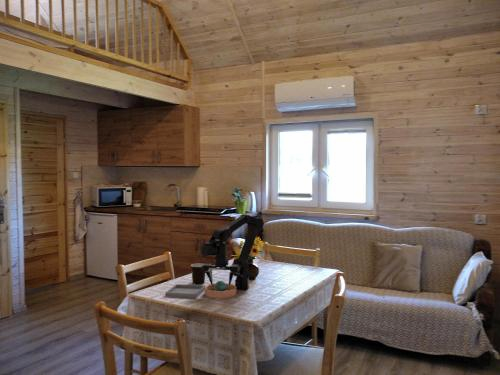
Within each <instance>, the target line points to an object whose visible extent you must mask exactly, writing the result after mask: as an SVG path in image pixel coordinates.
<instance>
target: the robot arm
mask: <svg viewBox="0 0 500 375" xmlns="http://www.w3.org/2000/svg"><path fill="white" fill-rule="evenodd" d="M244 225H246V226H247V233H246V236H245V240H244V242H243V244H242V248H241V251H240V252H239V256H238V257H237V258H234V259H233V261H232V264H231V265H229V259H230V258H228V256H227V246H229V245H230V242H229V241H228V240H229V239H230V238H231V236H232V234H233V233H234V232H236V231H237V230H239V229H240V228H241V227H243V226H244ZM264 225H265V222H264V219H263V218H262V217H255V216H253V215H250V214H246V213H242V214H240V216H238V217H237V218H236V219H234V220H233V221H231V222H230V223H228V224H227V225H224V226H220V227H218V228H216V229H214V230H213V233H212V235H211V237H209V238H210V239H209V241H208V242H203V245H202V246H201V249H200V253H201V255H202V257H204V258H207V257H213V256H214V265H212V263H203V264H204V265H203V266H202V268H201V271H204V273H205V275H206V276H207V277H208V280H209V282H210V284H211V285H212V284H214V283H213V282H214V281H213V270H219V271H220V270H221V271H230V272H229V274H228V275H229V276H228V284H229V285H230V284H232V280H233V277H236V278H235V279H234V285H235V286H236V287H237V291H238V290H239V291H248V290H249V289H250V282H249V281H250V280H249V279H251V278H252V274H253V273H252V272H251V270H249V267H250V264H249V258H250V255H251V252H252V250H253V246H254V243H255V241H256V238H257V236H258V234H259V233H260V232H261V231H262V229H263V227H264Z"/></svg>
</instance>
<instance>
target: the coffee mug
mask: <svg viewBox="0 0 500 375" xmlns="http://www.w3.org/2000/svg"><path fill="white" fill-rule="evenodd" d="M204 264H205V263H200V262H199V263H192V264H191V265H190V270H191V280H192V285H204V284H205V281H206V280H205V279H206V273H204V271H201V268H202V266H203V265H204Z"/></svg>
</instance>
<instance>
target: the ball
mask: <svg viewBox="0 0 500 375" xmlns="http://www.w3.org/2000/svg"><path fill="white" fill-rule="evenodd" d="M226 283H227V282H225V281H223V280H218V281H216V283H214V284H215V290H216V291H225V290H226V287H227V286H226Z"/></svg>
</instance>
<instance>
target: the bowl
mask: <svg viewBox="0 0 500 375" xmlns="http://www.w3.org/2000/svg"><path fill="white" fill-rule="evenodd" d="M225 283H226V286H227V287H226V290H225V291H216V290H215V284H216V283H213V284H212V285H211V283H210V284H208V285H205V290H204V296H206V297H208V298H211V299H229V298H233V297H235V296H236V295H237V291H238V290H237V287H236V286H235V284H232V283H231V284H230V285H229V282H228V283H227V282H225Z"/></svg>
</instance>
